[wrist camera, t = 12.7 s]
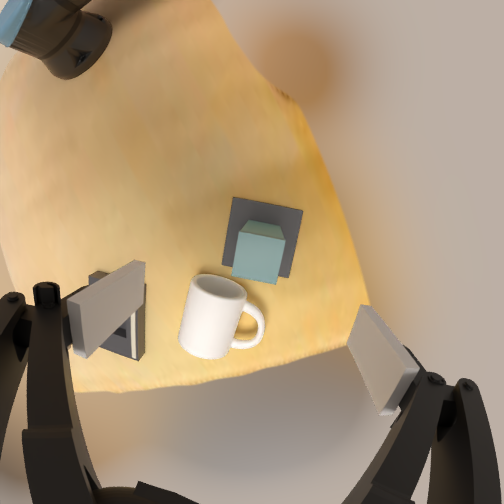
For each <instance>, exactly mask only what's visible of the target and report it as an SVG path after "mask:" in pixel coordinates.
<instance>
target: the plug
mask: <svg viewBox="0 0 504 504" xmlns="http://www.w3.org/2000/svg"><path fill="white" fill-rule="evenodd" d="M285 241H286V240H285V239H284V236H283V233H282V230H281V227H280V226H278V225H273V224H268V223H263V222H258V221H253V220H248V221H247V223H246V224H245V225H244V227H243V228H242V229H241V230H240V231H239V235H238V240H237V246H236V252H235V257H234V263H233V269H232V274H231V276H234V277H239V278H244V279H249V280H254V281H260V282H265V283H270V284H275V285H276V282H277V278H278V273H279V269H280V264H281V260H282V255H283V251H284V246H285Z"/></svg>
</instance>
